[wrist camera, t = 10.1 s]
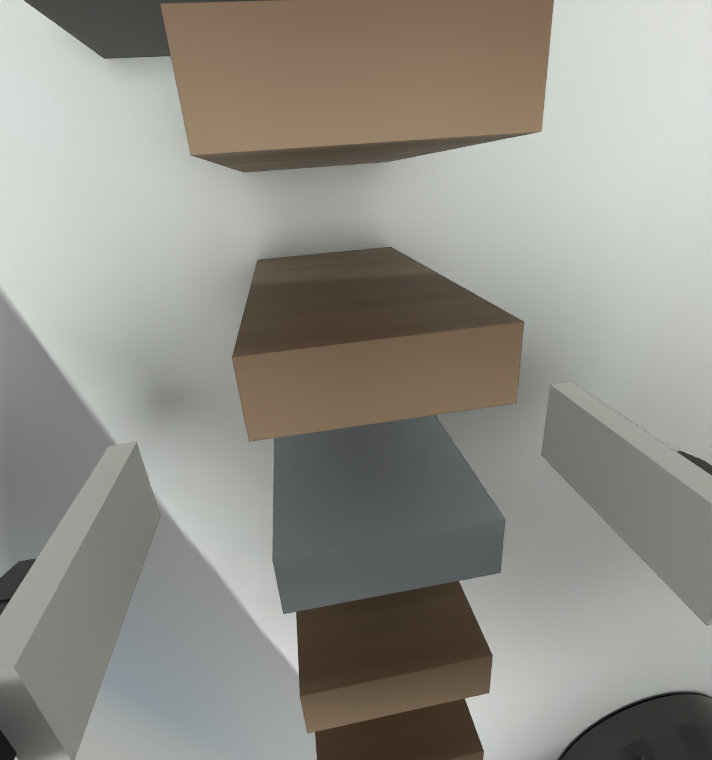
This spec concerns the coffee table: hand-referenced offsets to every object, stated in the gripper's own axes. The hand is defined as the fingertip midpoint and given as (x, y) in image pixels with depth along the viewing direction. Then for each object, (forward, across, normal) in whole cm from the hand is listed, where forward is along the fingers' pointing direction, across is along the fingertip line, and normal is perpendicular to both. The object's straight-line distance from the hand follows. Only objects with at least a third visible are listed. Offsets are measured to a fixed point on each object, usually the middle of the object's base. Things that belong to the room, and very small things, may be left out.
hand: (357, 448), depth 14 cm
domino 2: (+5, 0, +4) cm, 7 cm away
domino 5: (+5, 0, -9) cm, 10 cm away
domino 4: (+5, 0, -4) cm, 7 cm away
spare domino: (+5, 0, 0) cm, 5 cm away
